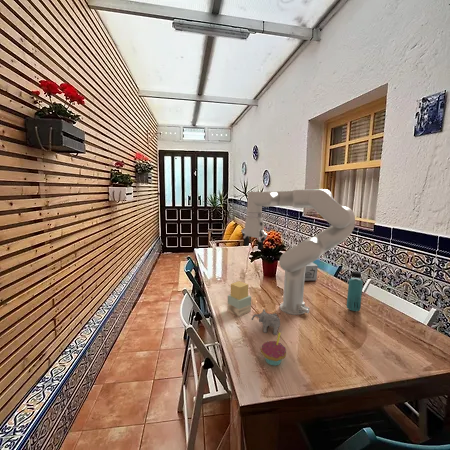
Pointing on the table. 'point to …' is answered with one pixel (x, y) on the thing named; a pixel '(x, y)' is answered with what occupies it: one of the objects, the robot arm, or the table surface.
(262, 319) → the gray elephant figurine
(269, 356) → the cupcake
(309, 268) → the icon cube
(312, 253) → the robot arm
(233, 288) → the block
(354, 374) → the table surface
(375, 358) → the table surface
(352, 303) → the beverage bottle
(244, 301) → the pale green square block
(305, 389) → the table surface
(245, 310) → the tower base
